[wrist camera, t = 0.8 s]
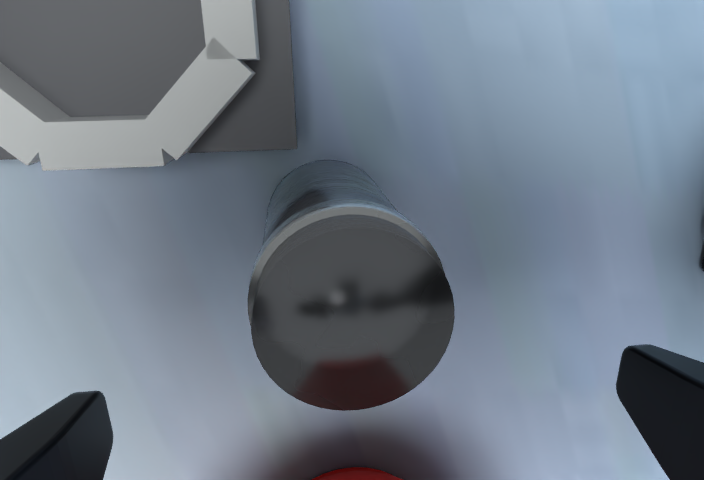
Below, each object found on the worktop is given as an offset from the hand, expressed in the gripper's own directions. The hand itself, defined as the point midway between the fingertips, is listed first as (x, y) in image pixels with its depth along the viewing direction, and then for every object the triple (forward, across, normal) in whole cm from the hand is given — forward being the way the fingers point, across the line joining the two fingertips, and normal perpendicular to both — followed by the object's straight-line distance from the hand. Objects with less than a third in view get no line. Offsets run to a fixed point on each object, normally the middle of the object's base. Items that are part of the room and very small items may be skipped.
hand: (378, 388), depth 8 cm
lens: (+10, 0, 0) cm, 10 cm away
